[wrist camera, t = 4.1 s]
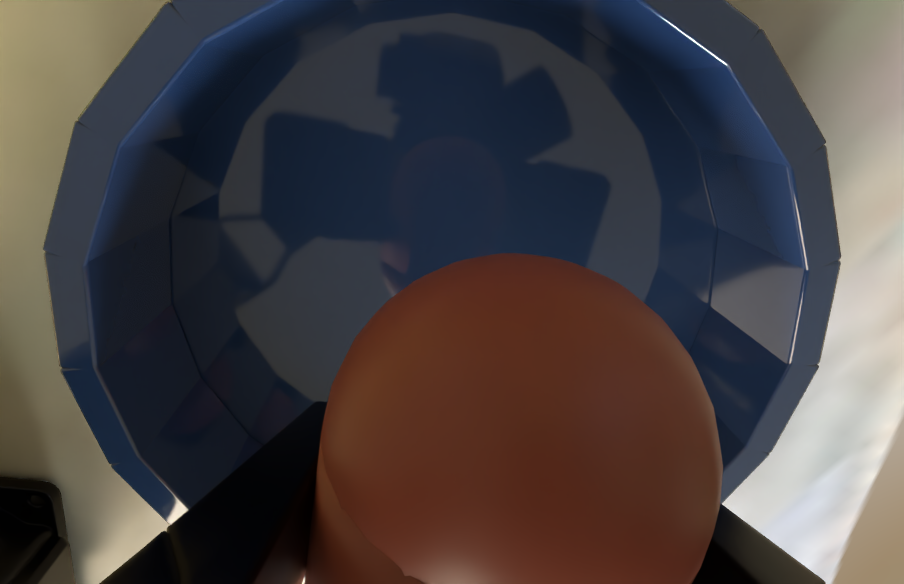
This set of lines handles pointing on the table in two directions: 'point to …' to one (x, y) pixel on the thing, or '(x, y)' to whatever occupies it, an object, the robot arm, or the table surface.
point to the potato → (515, 437)
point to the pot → (423, 205)
